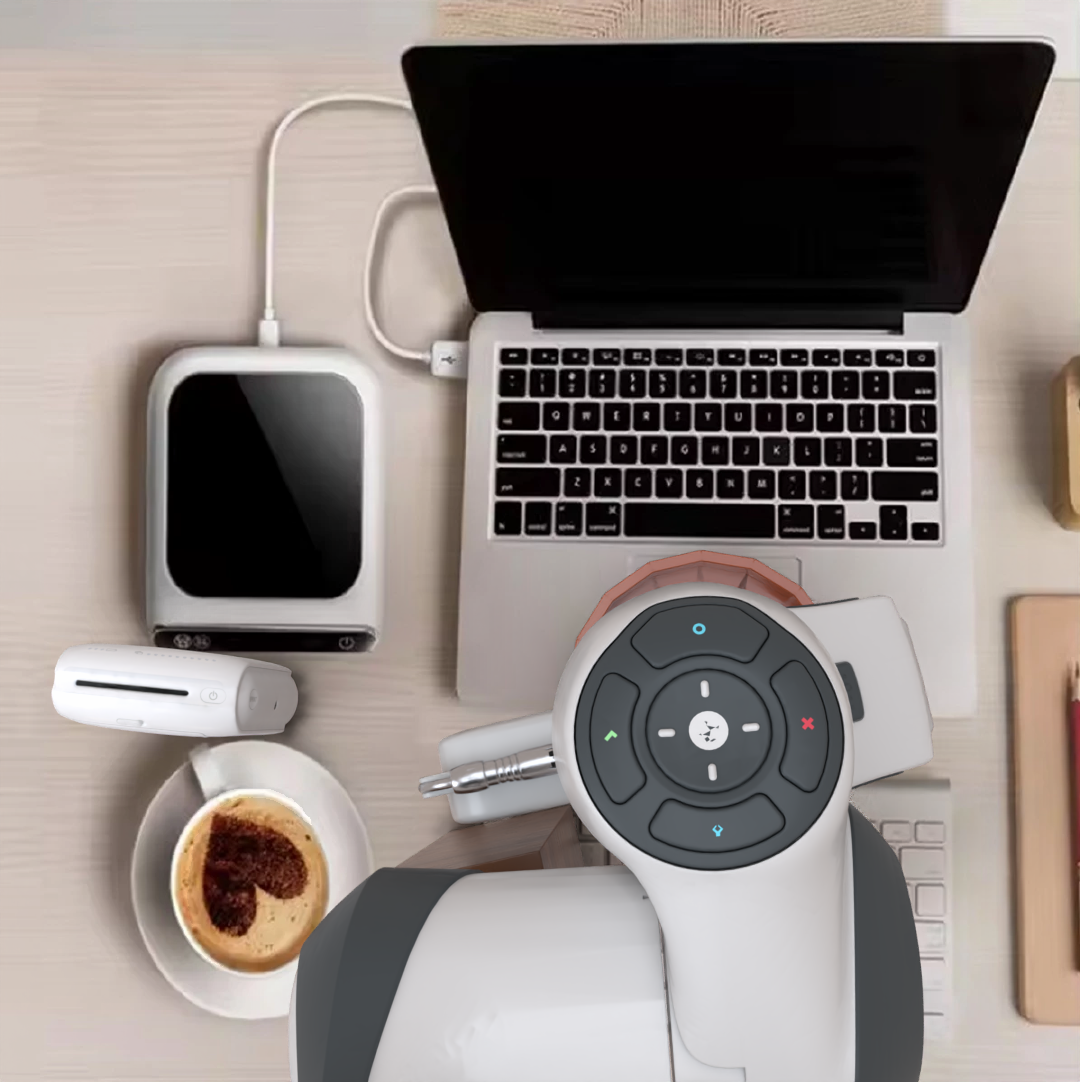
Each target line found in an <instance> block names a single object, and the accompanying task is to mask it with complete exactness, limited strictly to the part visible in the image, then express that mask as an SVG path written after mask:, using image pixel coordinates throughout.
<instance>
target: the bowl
mask: <svg viewBox="0 0 1080 1082" xmlns="http://www.w3.org/2000/svg"><path fill="white" fill-rule="evenodd" d="M685 582H712V583H720V584H725V585H729V586H734V587H737V588H741V589H745V590H748V591H751V592H754V593H757V594H760V595H763V596H765V597H767V598H769V599H772V600H774V601H776V602H778V603H780V604H781V605H783V606H784V607H787V606H799V605H809V604H815V603H814V601H813V600H812V599H811V597H810V596H809V595H808V593H807V592H806V590H804V588H803V587H802V586H801V585H799V584H798V583H797V582H794V580H791V579H790V578H788V577H787V576H785V575H783V574H781V573H780V572H778V571H776V570H775V569H773V568H771V567H770V566H768V565H767V564H765V563H763V562H762V561H760V560H758V559H757V558H754V557H748V556H743V555H738V554H737V555H735V554H731V553H724V552H718V551H711V550H705V549H697V550H694V551H689V552H684V553H681V554H676V555H672V556H668V557H664V558H663V557H662V558H659V559H655V560H651V561H648V562H646V563H644V564H643V565H642V566H641V567H639V568H637V569H636V570H635V571H634V572H632V573H631V574H629V575H628V576H627V577H625V578H624V579H622V580H621V581H620V582H618V583H617V584H615V585H614V586H612V587H611V588H610V589H608V590H607V591H605V593H604V594H603V595H602V596H601V598H600V599H599V601H598V603H597V605H596V606H595V608H594V609H593V611H592V612H591V614H590V616H589V618H588V619H587V620H586V622H585V624H584V625H583V627H582V628H581V630H580V632H579V633H578V635H577V636H576V639H575V642H574V649H575V648H576V646H577V645H578V643H579V642H580V640H581V639H582V637H583V636H584V635H585V634H586V632H587V631H588V630H589V629H590V628H591V627H592V626H593V625H594V624H595V623H596V622H597V621H598V620H599V619H600V618H602V617H603V616H604V615H605V614H607V613H608V612H610V611H611V610H613V609H614V608H616V607H617V606H619V605H621V604H623V603H625V602H627V601H628V600H630V599H632V598H634V597H637V596H639V595H642V594H644V593H646V592H649V591H651V590H654V589H657V588H661V587H664V586H667V585H672V584H678V583H685ZM574 649H573V650H574Z"/></svg>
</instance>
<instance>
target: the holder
mask: <svg viewBox="0 0 1080 1082" xmlns="http://www.w3.org/2000/svg"><path fill="white" fill-rule="evenodd" d="M394 867H395V868H434V869H473V870H481V871H483V872H485V873H492V872H509V871H525V870H542V869H558V868H575V867H586V866H585V862H584V857H583V853H582V849H581V844H580V839H579V836H578V831H577V827H576V822H575V817H574V813H573V807H572V805H571V804H566V805H562V806H557V807H553V808H548V809H544V810H540V811H535V812H531V813H526V814H522V815H518V816H513V817H509V818H504V819H499V820H494V821H489V822H485V823H480V824H478V825H477V824H476V825H473V826H469V827H463V828H460V829H455V830H451V831H448V832H446V833H445V834H443V835H442V836H441V837H439V838H438V839H437V838H436V840H434V841H433V842H431V843H429V844H428V845H426V846H425V847H424V848H422V849H420V850H419V851H417V852H415V853H414V854H413V855H411V856H409V857H408V858H407V859H405V860H403V861H402V862H400V863H399V864H397V865H396V866H394Z"/></svg>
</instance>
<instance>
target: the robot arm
mask: <svg viewBox="0 0 1080 1082" xmlns="http://www.w3.org/2000/svg"><path fill="white" fill-rule="evenodd" d="M574 648H575V647H574ZM934 727H935V724H934V719H933V715H932V710H931V707H930V703H929V699H928V695H927V690H926V687H925V682H924V678H923V673H922V670H921V666H920V663H919V660H918V656H917V653H916V649H915V646H914V643H913V640H912V636H911V631H910V629H909V625H908V623H907V621H905V619H904V618H902V617H901V615H900V613H899V611H898V608H897V606H896V604H895V601H894V600H893V598H892V597H890V596H888V595H883V594H879V595H872V596H868V597H863V598H859V597H857V596H856V597H849V598H845V599H838V600H833V601H826V602H825V601H824V602H817V603H814V604H809V605H799V606H787V607H784V606H783V605H781V604H780V603H778V602H776V601H774V600H772V599H769V598H767V597H765V596H763V595H760V594H757V593H754V592H751V591H748V590H745V589H741V588H737V587H734V586H729V585H725V584H720V583H712V582H685V583H678V584H672V585H667V586H664V587H661V588H657V589H654V590H651V591H649V592H646V593H644V594H642V595H639V596H637V597H634V598H632V599H630V600H628V601H627V602H625V603H623V604H621V605H619V606H617V607H616V608H614V609H613V610H611V611H610V612H608V613H607V614H605V615H604V616H603V617H602V618H600V619H599V620H598V621H597V622H596V623H595V624H594V625H593V626H592V627H591V628H590V629H589V630H588V631H587V632H586V634H585V635H584V636H583V637H582V639H581V640H580V642H579V643H578V645H577V646H576V648H575V649H573V651H572V653H571V654H570V656H569V658H568V660H567V662H566V664H565V666H564V669H563V671H562V674H561V675H560V679H559V681H558V685H557V688H556V691H555V696H554V700H553V707H552V709H549V710H548V709H547V710H545V711H539V712H536V713H535V712H534V713H532V714H531V713H530V714H527V715H523V716H519V717H515V718H510V719H506V720H501V721H498V722H493V723H487V724H484V725H480V726H476V727H472V728H468V729H464V730H460V731H458V732H454V733H452V734H450V735H448V736H444V737H443V738H441V739H440V740H439V741H438V743H437V753H438V757H439V763H440V768H441V772H440V773H435V774H431V775H426V776H422V777H420V778H419V779H418V782H419V784H418V787H417V789H418V792H419V793H420V794H421V796H422V798H423V799H424V800H426V799H432V798H436V797H441V796H444V795H446V796H447V800H448V804H449V809H450V814H451V817H452V819H453V820H454V821H455V822H456V823H457V824H460V825H465V824H466V825H470V824H483V823H489V822H495V821H499V820H504V819H508V818H512V817H517V816H521V815H526V814H530V813H535V812H539V811H543V810H548V809H552V808H557V807H561V806H565V805H571V808H572V810H573V811H574V812H575V813H576V815H577V816H578V818H579V819H580V821H581V823H582V824H583V825H584V826H585V828H586V829H587V830H588V831H589V832H590V834H591V835H592V836H593V837H594V838H595V839H596V840H597V841H598V843H600V844H601V845H602V846H603V847H604V848H605V849H606V850H607V851H608V852H609V853H611V854H612V855H613V856H614V857H616V858H617V859H618V860H619V861H621V862H622V863H623V864H611V865H610V864H609V865H593V866H585V867H575V868H558V869H542V870H525V871H509V872H492V873H485V872H483V871H481V870H473V869H434V868H395V867H396V866H394V867H393V866H392V867H390V866H383V867H380V868H378V869H377V870H375V871H374V872H373V873H371V874H370V875H369V876H367V878H365V879H364V880H363V881H361V883H359V884H358V885H357V886H355V888H354V889H352V890H351V892H349V893H348V894H347V895H345V897H344V898H342V900H340V901H339V902H338V903H337V904H336V905H335V906H334V907H333V908H332V909H330V911H329V912H328V913H327V914H326V915H325V917H323V919H322V920H321V921H320V922H319V923H318V924H317V926H316V927H315V928H314V929H313V930H312V932H311V933H310V934H309V935H308V937H307V938H306V939H305V940H304V942H303V943H302V946H301V948H300V951H299V956H298V963H297V968H296V971H295V975H294V979H293V983H292V988H291V992H290V1000H289V1006H288V1007H289V1009H288V1022H287V1049H288V1050H287V1051H288V1055H287V1056H288V1068H289V1077H290V1082H920V1077H921V1071H922V1065H923V1056H924V1043H925V1040H924V1039H925V1006H924V1005H925V1002H924V985H923V972H922V963H921V954H920V953H921V952H920V946H919V940H918V939H919V938H918V934H917V927H916V922H915V916H914V912H913V906H912V903H911V902H912V901H911V897H910V894H909V888H908V884H907V881H906V878H905V874H904V871H903V868H902V865H901V862H900V859H899V858H898V856H897V854H896V852H895V850H894V849H893V847H892V846H891V845H890V844H889V842H888V841H887V840H886V839H885V838H884V836H883V835H882V834H881V833H880V832H879V830H878V829H877V828H876V827H875V826H874V824H873V823H872V822H871V821H870V820H869V819H868V818H867V817H866V816H865V815H864V814H863V813H862V812H861V811H860V810H859V809H858V808H857V807H855V806H854V805H853V804H852V803H851V802H850V799H851V794H852V790H855V789H858V788H861V787H863V786H866V785H869V784H872V783H876V782H879V781H881V780H885V779H888V778H892V777H894V776H899V775H900V774H903V773H905V771H907V770H908V771H909V770H911V769H915V768H919V767H922V766H925V765H926V764H928V763H930V762H931V761H932V760H933V758H934V756H935V755H934V754H935V753H934V746H933V745H934V744H933V735H932V733H933V731H934Z"/></svg>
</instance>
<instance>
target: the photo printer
mask: <svg viewBox="0 0 1080 1082" xmlns="http://www.w3.org/2000/svg"><path fill="white" fill-rule="evenodd" d="M292 672H293V671H292V670H291V669H290V668H288V667H286V666H283V665H281V664H277V663H274V662H270V661H264V660H259V659H254V658H248V657H241V656H235V655H229V654H220V653H213V652H204V651H197V650H196V651H195V650H187V649H179V648H171V647H170V648H168V647H158V646H148V645H135V644H120V643H104V642H101V643H100V642H93V643H82V644H76V645H71V646H68V647H67V648H65V649H64V650H63V652H62V653H61V654H60V656H59V657H58V660H57V661H56V665H55V668H54V678H53V679H54V680H53V686H52V687H51V692H50V693H51V701H52V703H53V707H54V709H55V711H56V712H57V714H58V715H59V716H61V717H64V718H66V719H67V720H71V721H73V722H76V723H79V724H83V725H86V726H93V727H99V728H106V729H113V730H121V731H128V732H129V731H130V732H136V733H146V734H155V735H156V734H158V735H167V736H168V735H169V736H178V737H179V736H180V737H193V738H196V737H198V738H221V737H222V738H223V737H239V736H240V737H241V736H262V735H263V736H265V735H275V734H276V735H277V734H281V733H283V732H284V731H285V727H286V725H287V724H288V723H289V722H290V721H291V720H292V718H293V717H294V715H295V713H296V710H297V708H298V703H299V690H298V687H297V685H296V682H295V680H294V678H293V677H292Z"/></svg>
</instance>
